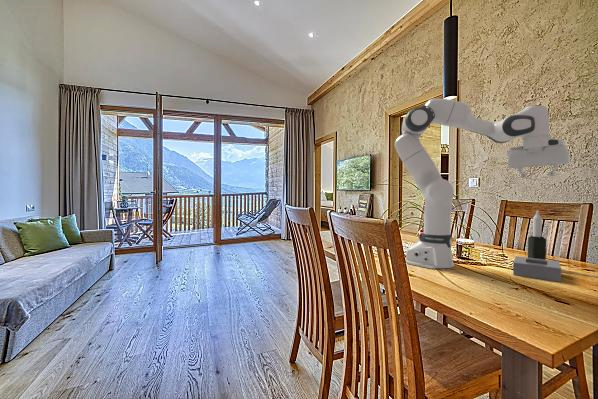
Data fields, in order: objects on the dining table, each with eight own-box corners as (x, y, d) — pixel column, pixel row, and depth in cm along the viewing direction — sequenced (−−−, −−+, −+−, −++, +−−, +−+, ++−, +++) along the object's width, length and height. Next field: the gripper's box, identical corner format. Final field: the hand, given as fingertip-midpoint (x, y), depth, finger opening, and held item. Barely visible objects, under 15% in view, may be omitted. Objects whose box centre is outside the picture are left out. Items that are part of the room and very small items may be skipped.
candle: (539, 265, 127) (540, 209, 126) (547, 268, 122) (548, 210, 121) (526, 265, 128) (527, 209, 127) (533, 268, 123) (534, 210, 122)
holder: (513, 274, 113) (513, 262, 113) (515, 267, 124) (515, 256, 124) (560, 282, 104) (561, 268, 104) (558, 273, 115) (559, 261, 115)
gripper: (504, 147, 126) (505, 178, 127) (567, 139, 111) (568, 174, 111) (508, 148, 130) (509, 178, 131) (569, 140, 115) (571, 174, 115)
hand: (537, 176), depth 121 cm, fingers open, 8 cm apart
